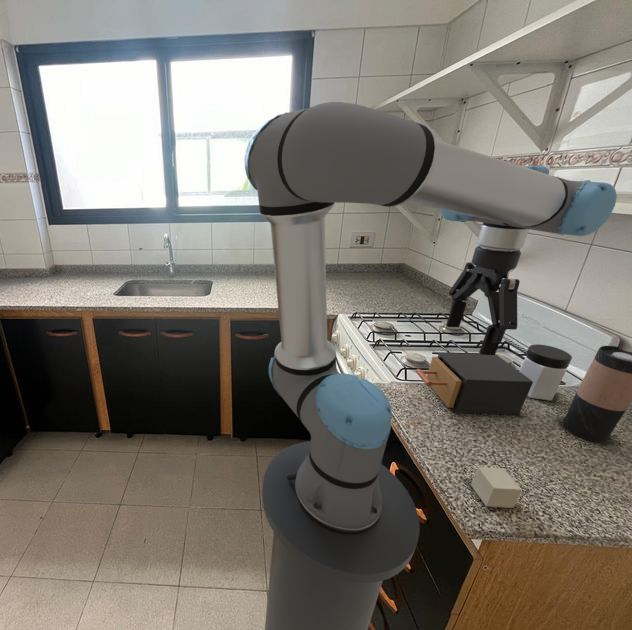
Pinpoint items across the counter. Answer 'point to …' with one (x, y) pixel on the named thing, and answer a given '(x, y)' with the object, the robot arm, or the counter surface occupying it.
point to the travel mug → (601, 395)
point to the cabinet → (488, 384)
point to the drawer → (442, 381)
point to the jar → (544, 370)
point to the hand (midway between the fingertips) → (468, 339)
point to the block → (495, 487)
